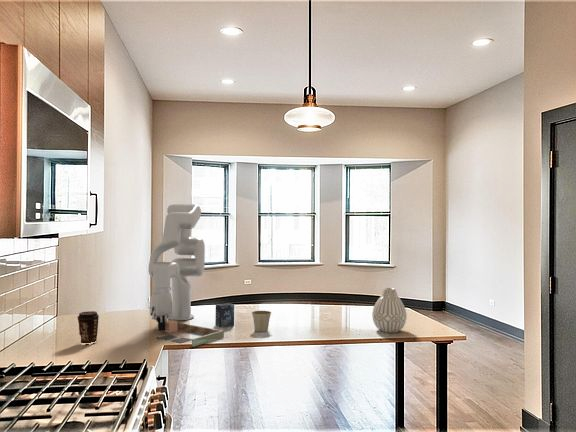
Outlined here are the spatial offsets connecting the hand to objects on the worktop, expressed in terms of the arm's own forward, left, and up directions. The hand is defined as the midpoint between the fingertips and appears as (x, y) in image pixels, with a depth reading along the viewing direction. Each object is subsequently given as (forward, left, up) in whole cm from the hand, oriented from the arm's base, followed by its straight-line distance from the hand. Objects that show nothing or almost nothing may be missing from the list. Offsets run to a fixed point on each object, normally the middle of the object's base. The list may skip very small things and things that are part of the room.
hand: (161, 330), depth 232 cm
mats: (+13, -4, -1) cm, 14 cm away
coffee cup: (-12, -30, -1) cm, 32 cm away
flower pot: (+35, +30, -1) cm, 46 cm away
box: (+14, +28, -1) cm, 31 cm away
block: (0, +5, -1) cm, 5 cm away
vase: (+85, +64, -1) cm, 106 cm away
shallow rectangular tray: (+12, 0, -1) cm, 12 cm away
